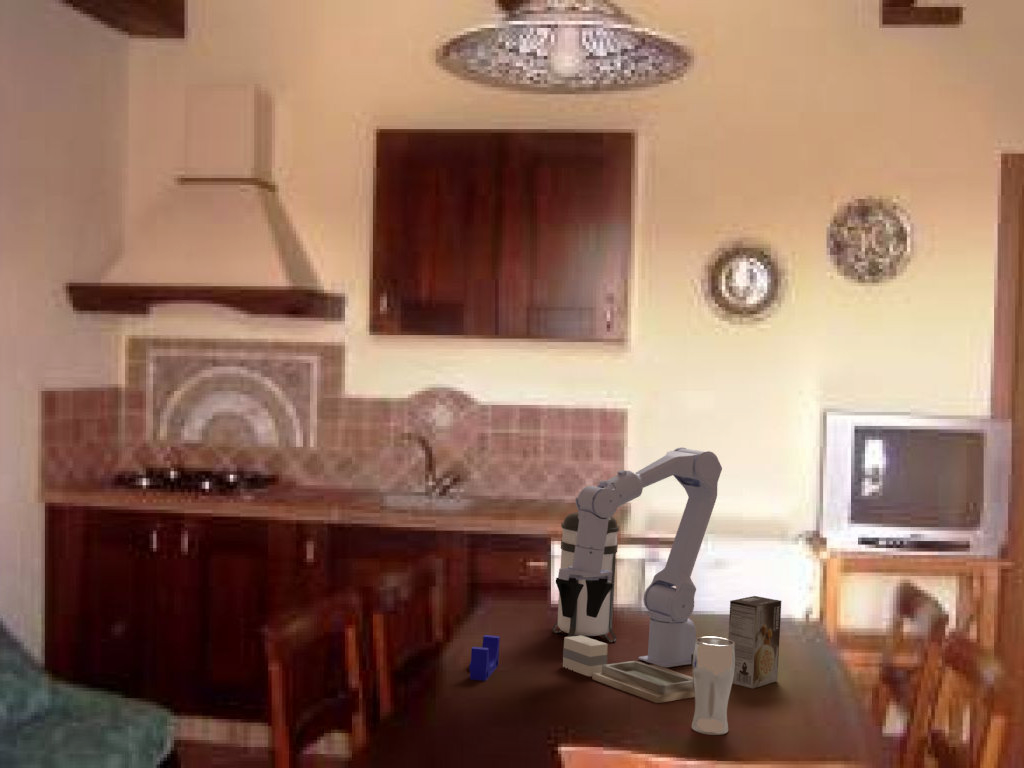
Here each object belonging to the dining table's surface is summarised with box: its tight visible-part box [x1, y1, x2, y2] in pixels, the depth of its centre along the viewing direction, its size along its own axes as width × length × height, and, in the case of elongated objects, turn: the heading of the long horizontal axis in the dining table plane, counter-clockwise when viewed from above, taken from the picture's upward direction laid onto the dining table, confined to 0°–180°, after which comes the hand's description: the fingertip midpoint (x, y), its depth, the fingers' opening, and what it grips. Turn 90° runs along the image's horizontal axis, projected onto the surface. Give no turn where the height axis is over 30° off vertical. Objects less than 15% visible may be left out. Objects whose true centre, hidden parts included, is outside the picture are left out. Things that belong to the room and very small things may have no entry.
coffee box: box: [727, 595, 783, 690], centre depth 242 cm, size 9×6×16 cm
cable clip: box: [468, 634, 501, 682], centre depth 239 cm, size 12×4×6 cm, turn 169°
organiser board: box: [591, 654, 695, 704], centre depth 235 cm, size 16×18×7 cm
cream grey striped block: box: [562, 635, 608, 677], centre depth 244 cm, size 4×8×6 cm, turn 37°
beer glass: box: [691, 636, 735, 736], centre depth 209 cm, size 7×7×15 cm
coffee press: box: [552, 511, 620, 643], centre depth 275 cm, size 17×16×30 cm
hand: (579, 616), depth 243 cm, fingers open, 7 cm apart
